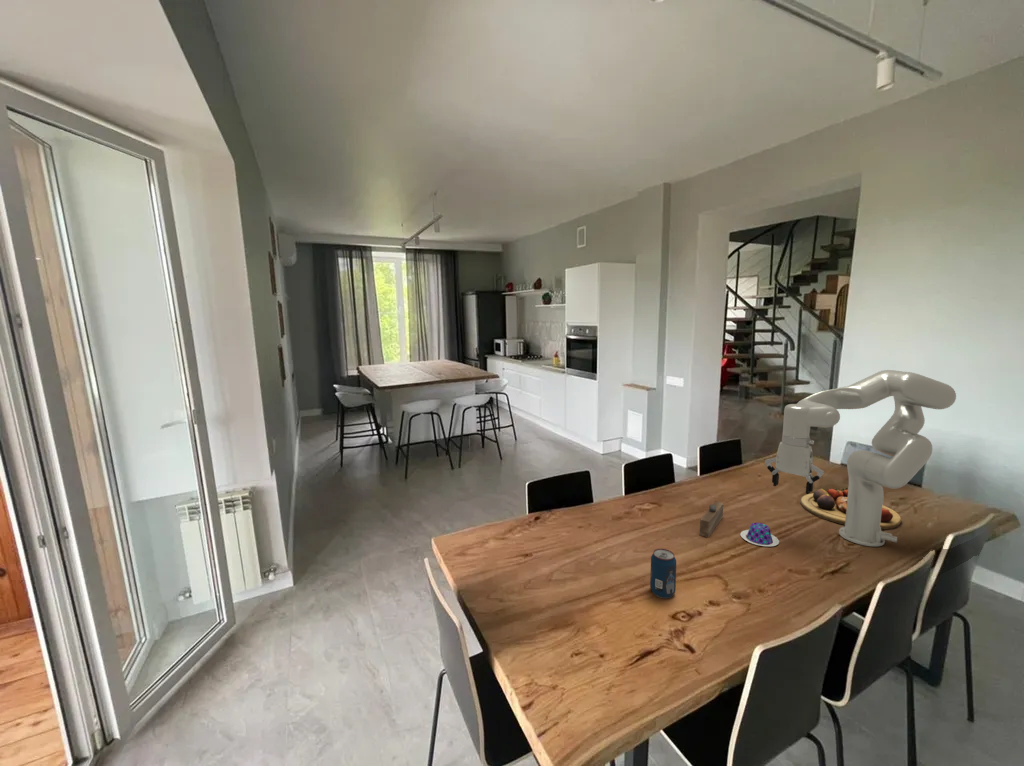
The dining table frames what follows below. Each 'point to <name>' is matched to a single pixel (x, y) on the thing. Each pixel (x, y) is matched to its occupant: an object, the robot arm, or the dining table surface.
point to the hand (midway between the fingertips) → (791, 489)
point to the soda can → (663, 573)
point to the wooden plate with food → (841, 507)
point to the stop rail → (711, 519)
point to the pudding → (759, 535)
